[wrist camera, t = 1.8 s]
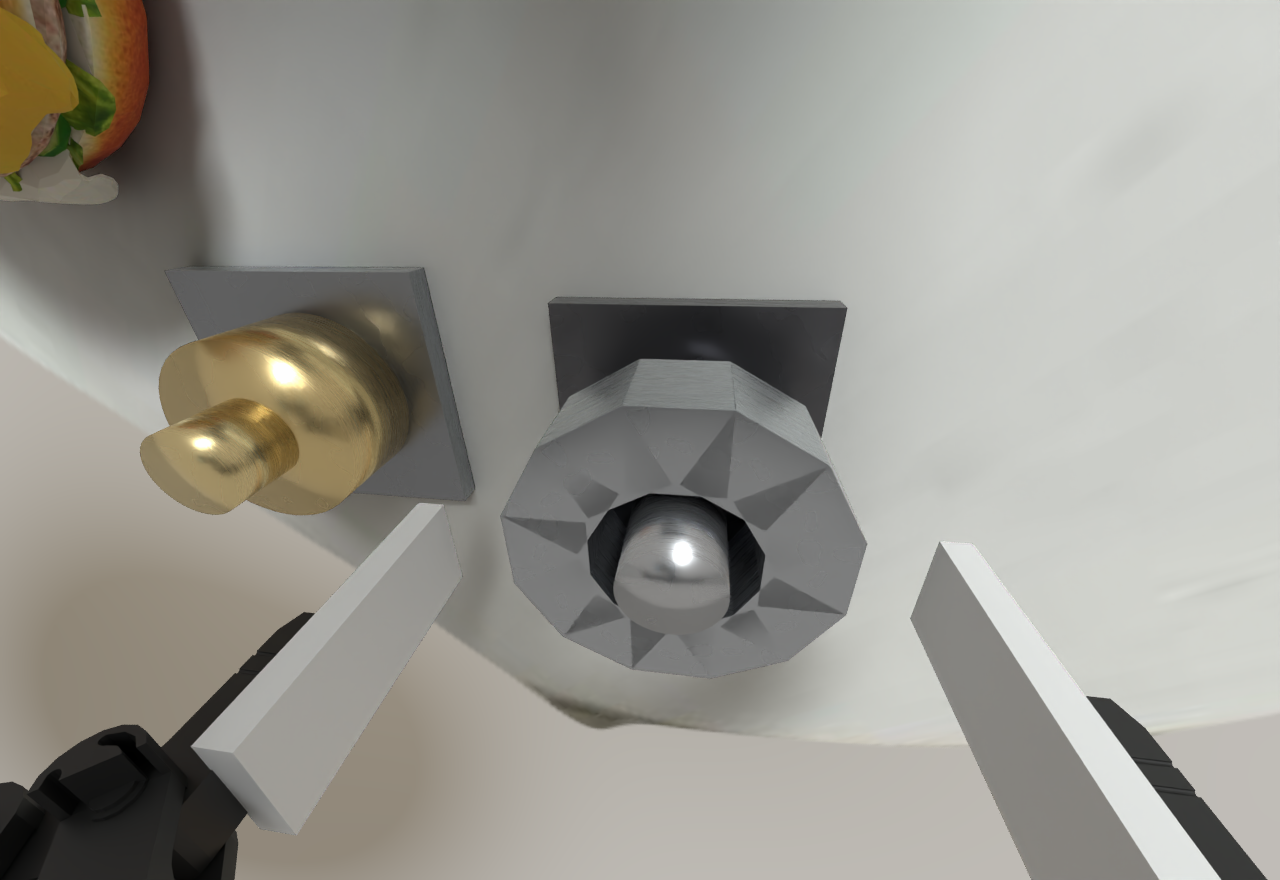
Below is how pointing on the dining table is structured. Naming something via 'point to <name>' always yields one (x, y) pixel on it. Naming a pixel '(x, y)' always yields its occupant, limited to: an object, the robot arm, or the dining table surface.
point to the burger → (68, 94)
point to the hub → (306, 391)
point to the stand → (707, 331)
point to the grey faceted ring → (692, 466)
